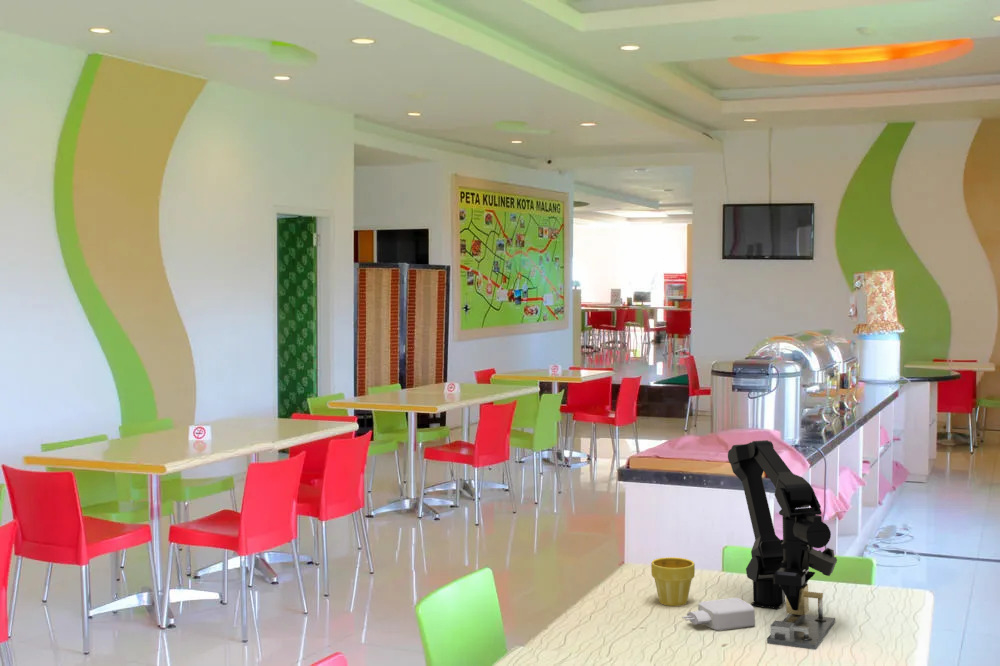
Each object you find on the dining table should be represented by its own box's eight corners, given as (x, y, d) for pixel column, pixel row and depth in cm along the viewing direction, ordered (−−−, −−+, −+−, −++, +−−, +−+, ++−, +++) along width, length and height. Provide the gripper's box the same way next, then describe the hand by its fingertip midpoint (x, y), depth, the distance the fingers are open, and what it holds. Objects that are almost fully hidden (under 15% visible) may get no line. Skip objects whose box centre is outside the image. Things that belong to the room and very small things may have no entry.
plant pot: (703, 605, 252) (702, 564, 252) (666, 610, 248) (665, 569, 248) (681, 594, 262) (680, 555, 261) (644, 599, 258) (643, 560, 258)
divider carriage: (786, 617, 236) (785, 586, 236) (790, 612, 239) (790, 582, 239) (820, 621, 232) (820, 590, 232) (824, 616, 236) (824, 585, 236)
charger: (675, 623, 239) (735, 616, 243) (693, 635, 230) (755, 628, 234) (674, 602, 239) (734, 596, 243) (692, 614, 230) (754, 606, 234)
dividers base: (767, 643, 223) (766, 626, 223) (789, 617, 241) (789, 601, 241) (815, 649, 218) (815, 632, 218) (835, 622, 236) (834, 606, 236)
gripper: (824, 550, 224) (825, 623, 225) (841, 532, 241) (842, 600, 241) (771, 546, 230) (773, 617, 230) (792, 528, 246) (793, 595, 246)
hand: (797, 607), depth 237 cm, fingers closed on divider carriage, 4 cm apart
